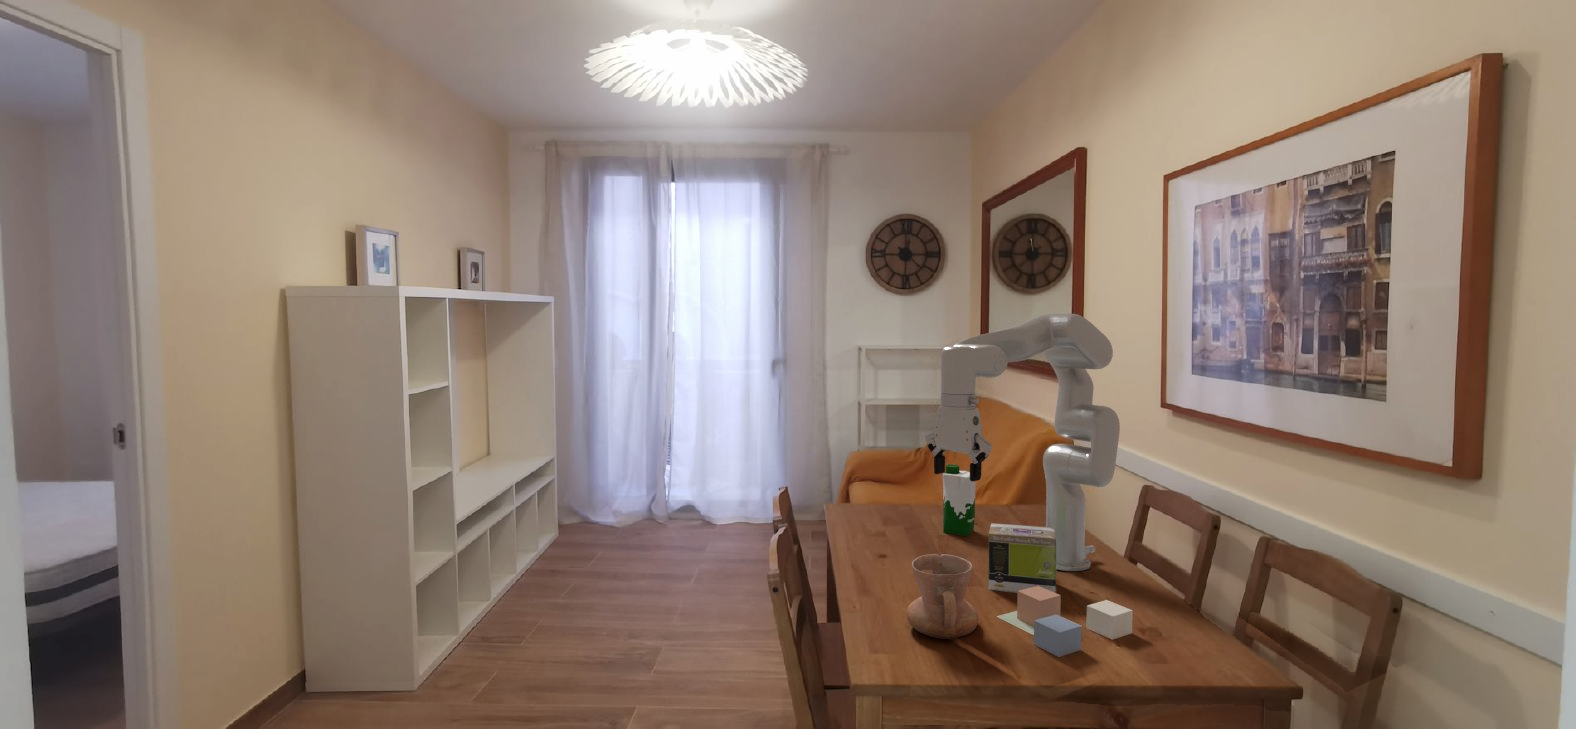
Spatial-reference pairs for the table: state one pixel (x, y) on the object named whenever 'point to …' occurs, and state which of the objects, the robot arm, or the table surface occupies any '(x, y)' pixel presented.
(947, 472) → the milk carton
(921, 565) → the ceramic jug
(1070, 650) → the slate brick
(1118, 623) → the cream brick
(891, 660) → the table surface
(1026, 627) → the plate
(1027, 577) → the tea box
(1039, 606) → the terracotta brick
